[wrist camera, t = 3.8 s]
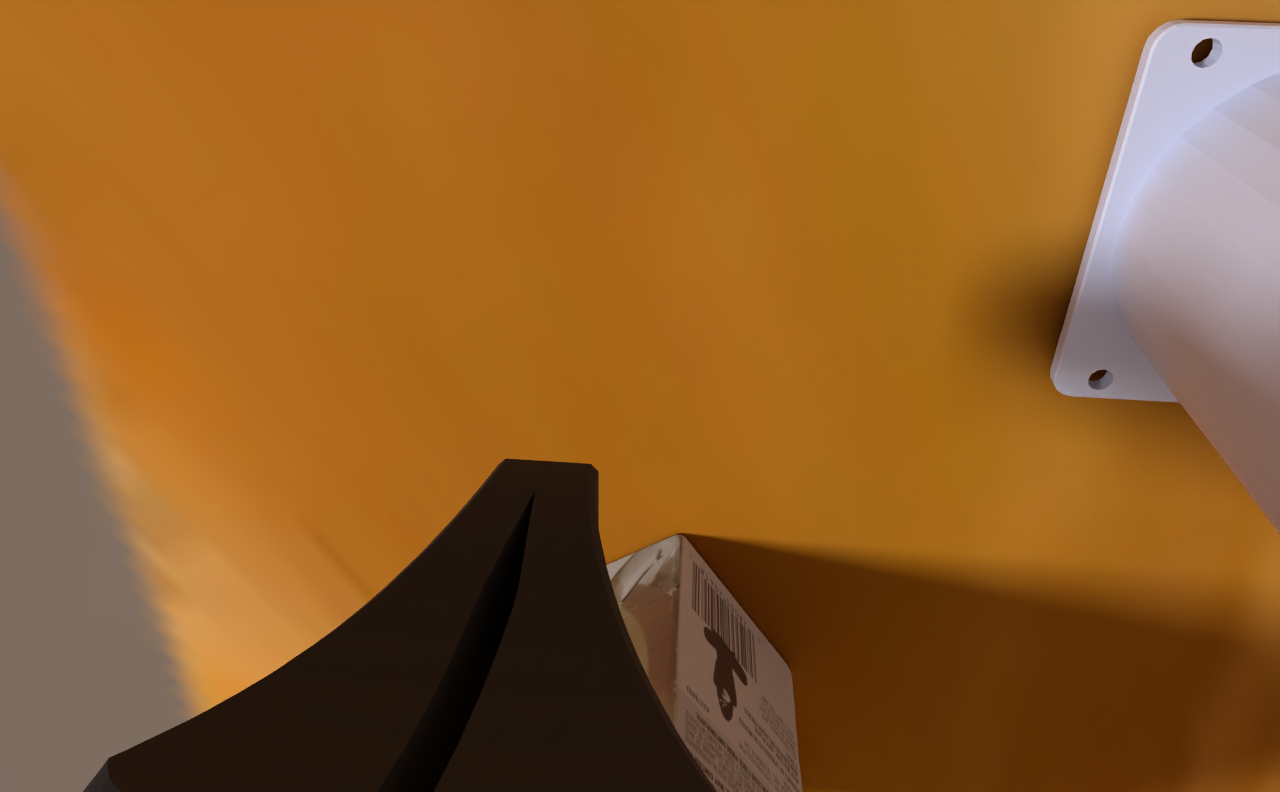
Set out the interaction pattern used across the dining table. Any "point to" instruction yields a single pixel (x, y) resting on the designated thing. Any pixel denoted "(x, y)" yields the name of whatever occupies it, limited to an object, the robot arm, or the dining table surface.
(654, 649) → the coffee box
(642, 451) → the dining table surface
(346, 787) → the robot arm
